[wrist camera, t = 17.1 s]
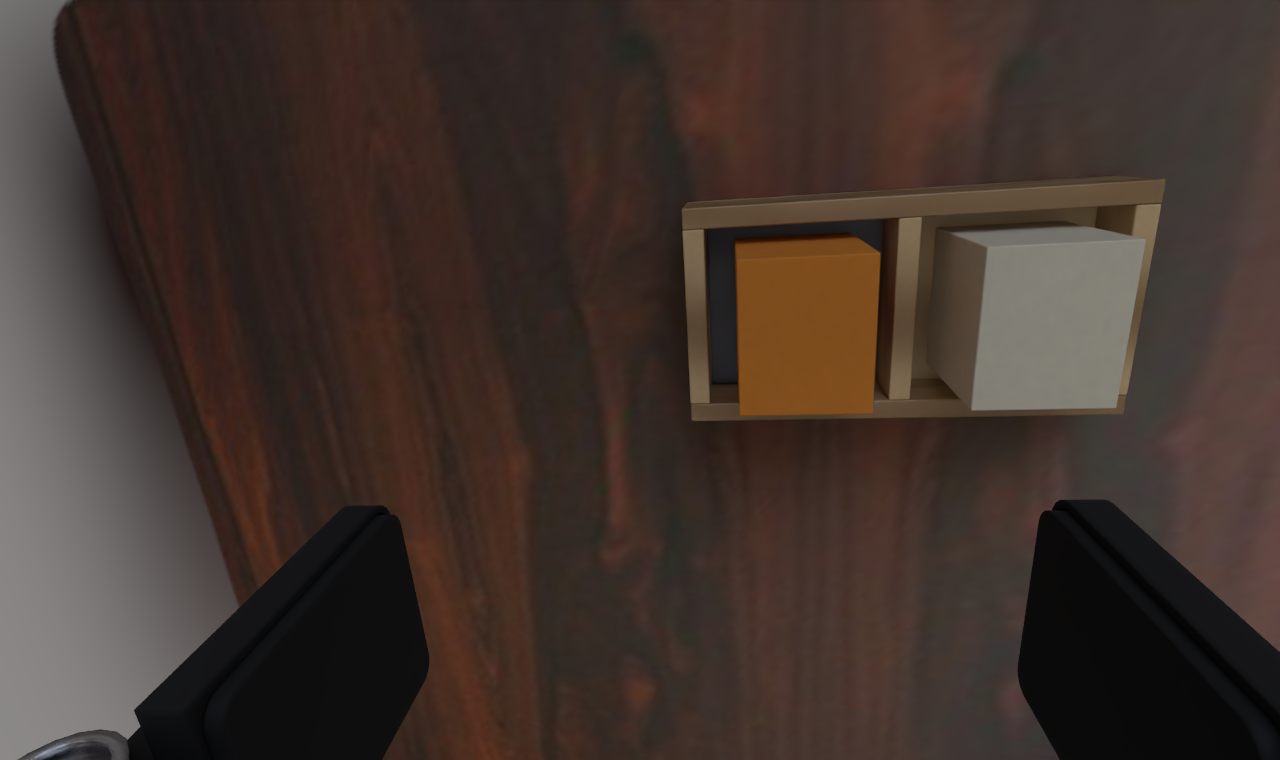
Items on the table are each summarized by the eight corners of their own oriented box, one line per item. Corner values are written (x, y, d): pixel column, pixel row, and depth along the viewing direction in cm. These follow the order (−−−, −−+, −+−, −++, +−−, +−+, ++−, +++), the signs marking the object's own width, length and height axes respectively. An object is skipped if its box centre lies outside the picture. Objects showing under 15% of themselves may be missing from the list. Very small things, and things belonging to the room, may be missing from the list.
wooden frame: (686, 202, 27) (681, 208, 24) (1116, 175, 25) (1167, 179, 22) (694, 395, 30) (691, 422, 27) (1082, 387, 28) (1124, 415, 25)
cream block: (935, 227, 26) (987, 246, 21) (1061, 220, 25) (1147, 238, 20) (925, 362, 28) (970, 411, 23) (1042, 359, 27) (1117, 408, 22)
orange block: (734, 238, 27) (736, 259, 22) (851, 231, 26) (881, 252, 21) (737, 368, 29) (739, 416, 23) (846, 365, 28) (873, 414, 23)
